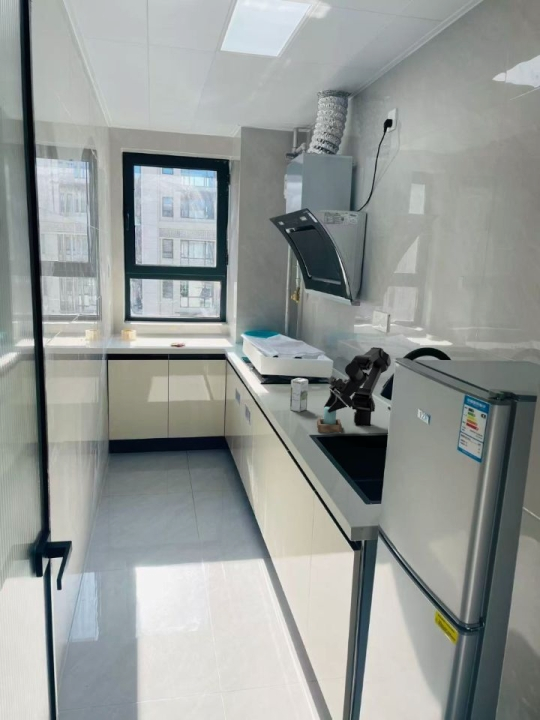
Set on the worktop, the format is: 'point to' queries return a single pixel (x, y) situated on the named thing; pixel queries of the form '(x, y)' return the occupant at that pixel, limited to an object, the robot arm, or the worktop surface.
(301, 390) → the syrup box
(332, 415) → the peg
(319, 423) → the collar
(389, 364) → the robot arm
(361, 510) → the worktop surface
